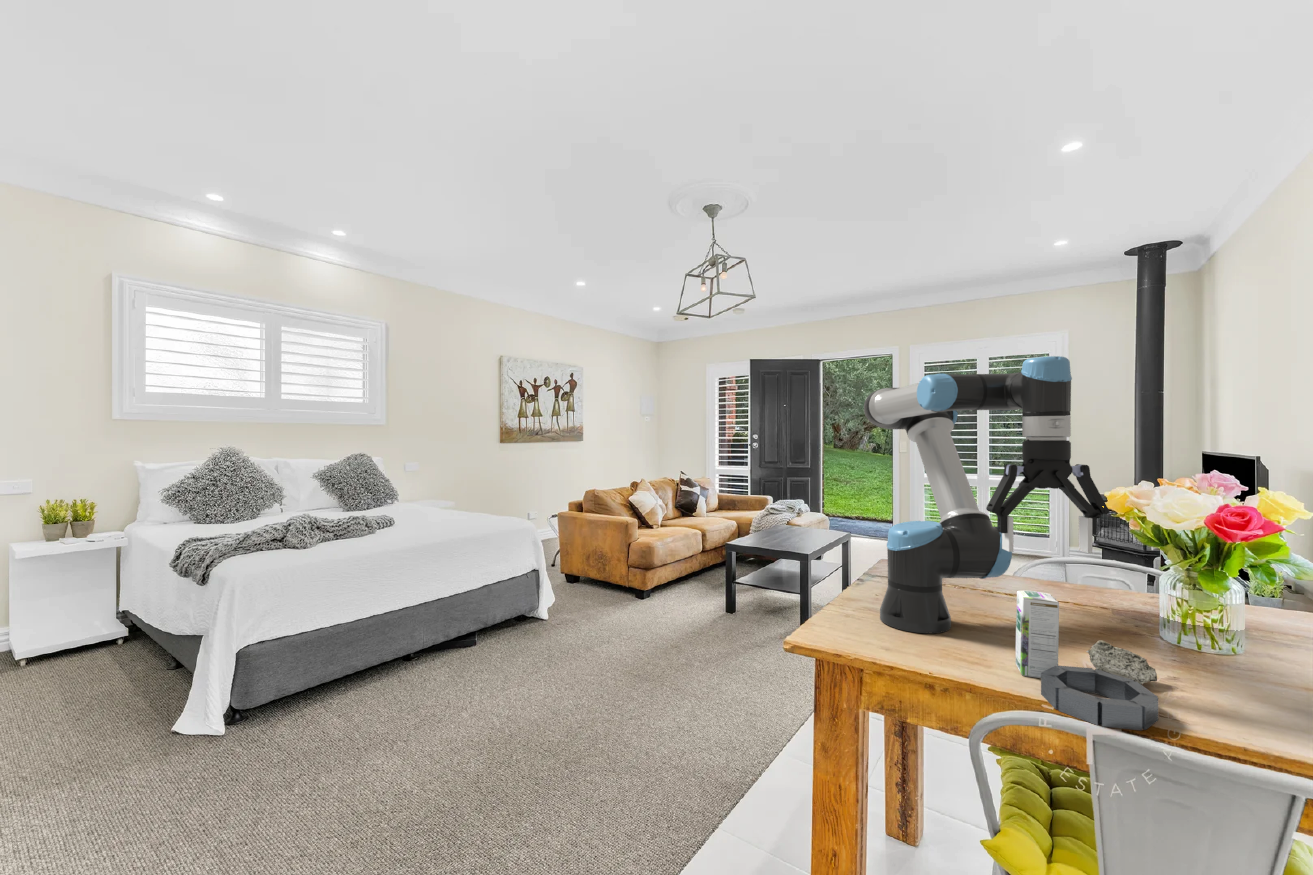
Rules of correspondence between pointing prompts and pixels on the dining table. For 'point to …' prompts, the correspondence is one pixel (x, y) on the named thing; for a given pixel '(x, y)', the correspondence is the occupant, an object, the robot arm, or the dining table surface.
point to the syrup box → (1036, 632)
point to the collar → (1123, 710)
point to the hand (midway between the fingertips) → (1046, 551)
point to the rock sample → (1121, 662)
